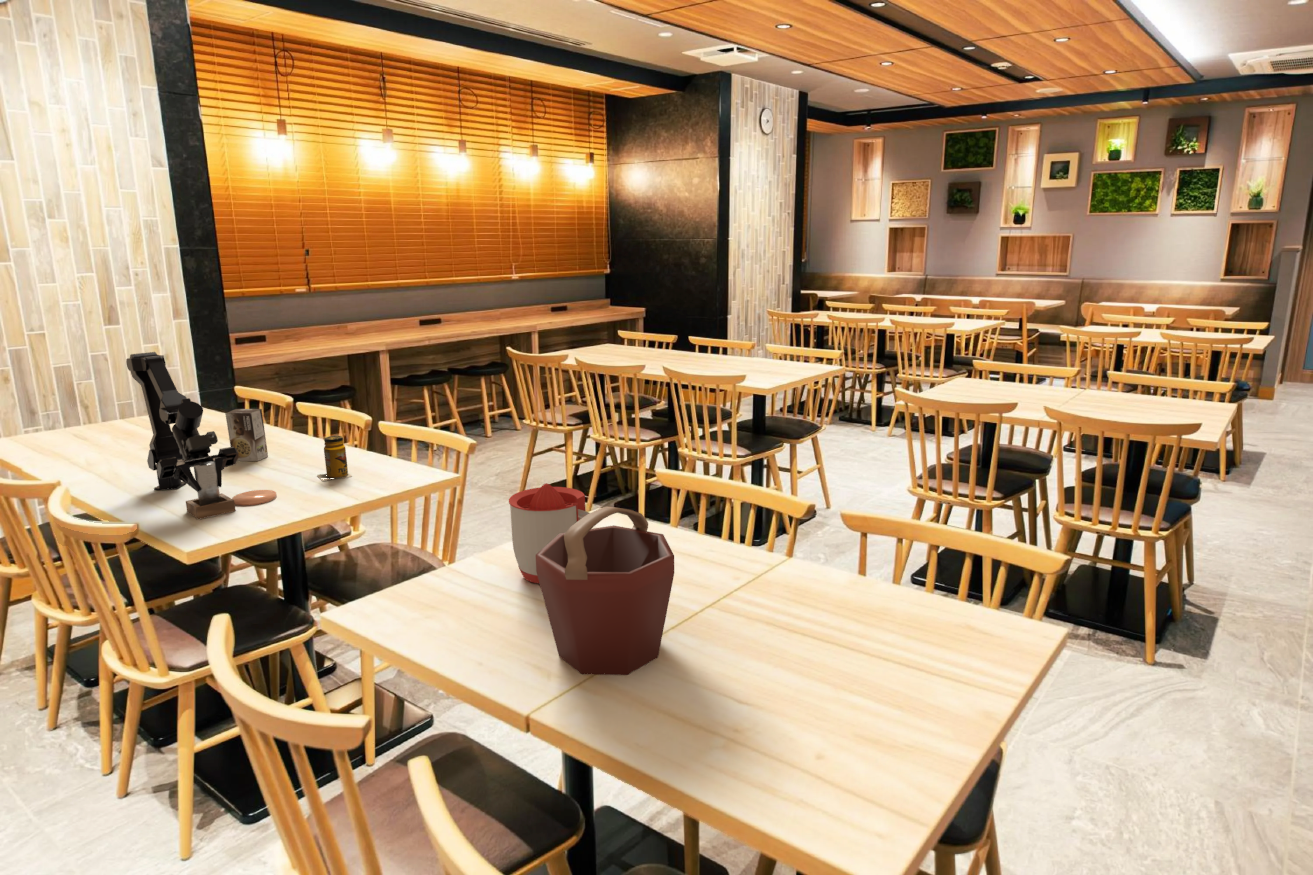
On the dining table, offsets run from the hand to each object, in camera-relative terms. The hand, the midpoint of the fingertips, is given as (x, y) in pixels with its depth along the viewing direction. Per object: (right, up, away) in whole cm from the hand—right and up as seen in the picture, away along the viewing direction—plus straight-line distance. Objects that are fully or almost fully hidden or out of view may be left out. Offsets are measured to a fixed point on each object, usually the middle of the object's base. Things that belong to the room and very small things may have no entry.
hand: (209, 488), depth 216 cm
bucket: (+108, -23, -74) cm, 133 cm away
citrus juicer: (+95, -16, -42) cm, 105 cm away
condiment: (+20, +1, +33) cm, 39 cm away
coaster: (+6, -4, +12) cm, 14 cm away
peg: (-1, -6, +3) cm, 7 cm away
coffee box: (-16, +6, +55) cm, 58 cm away
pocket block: (-1, -6, +3) cm, 7 cm away
